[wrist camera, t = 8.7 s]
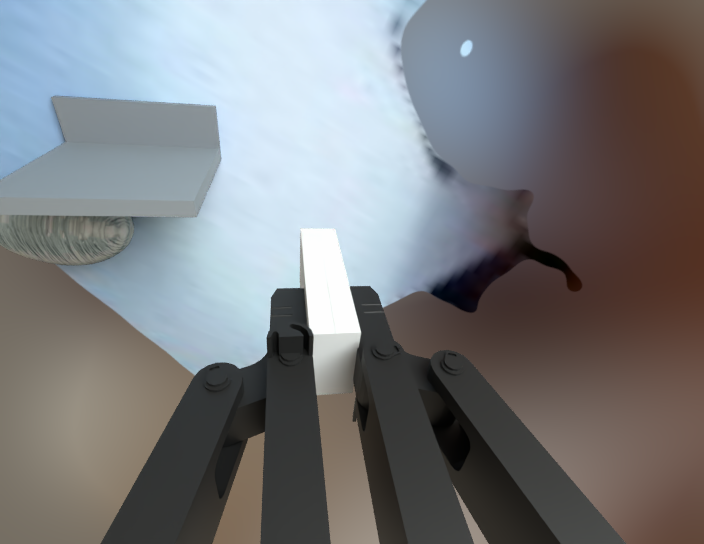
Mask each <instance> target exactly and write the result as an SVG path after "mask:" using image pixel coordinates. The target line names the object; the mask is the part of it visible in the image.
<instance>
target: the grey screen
mask: <svg viewBox="0 0 704 544" xmlns="http://www.w3.org/2000/svg"><path fill="white" fill-rule="evenodd" d="M51 98H52V101H53V104H54V107H55V110H56V113H57V116H58V119H59V123H60V126H61V129H62V132H63V135H64V138H65V141H66V142H65V143H63V144H61V145H60V146H58V147H56V148H54V149H53V150H51V151H49V152H47V153H46V154H44V155H42V156H41V157H39V158H37V159H35V160H34V161H32V162H30V163H28V164H27V165H25V166H23V167H21V168H20V169H18V170H16V171H15V172H13V173H11V174H9V175H8V176H6V177H4V178H2V179H1V180H0V215H50V216H132V217H197V215H198V213H199V210H200V208H201V206H202V203H203V201H204V199H205V196H206V194H207V192H208V189H209V187H210V185H211V182H212V180H213V178H214V175H215V173H216V171H217V168H218V166H219V164H220V161H221V151H220V141H219V132H218V123H217V113H216V106H212V105H196V104H180V103H164V102H148V101H132V100H116V99H100V98H84V97H68V96H53V97H51Z"/></svg>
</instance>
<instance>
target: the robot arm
mask: <svg viewBox="0 0 704 544" xmlns="http://www.w3.org/2000/svg"><path fill="white" fill-rule="evenodd" d="M353 385H354V387H355V392H356V399H355V405H354V412H353V422H354V421H356V418H357V422H358V427H359V433H360V438H361V443H362V449H363V455H364V460H365V465H366V470H367V476H368V481H369V487H370V493H371V498H372V504H373V509H374V515H375V519H376V525H377V530H378V536H379V542H380V544H474V543H473V539H472V537H471V534H470V531H469V528H468V526H467V523H466V520H465V517H464V514H463V512H462V509H461V506H460V503H459V501H458V498H457V495H456V492H455V490H454V487H455V488H456V490H457V492H458V493H459V495H460V496H461V498H462V500H463V502H464V503H465V505H466V507H467V508H468V510H469V512H470V513H471V515H472V517H473V518H474V520H475V522H476V523H477V525H478V527H479V528H480V530H481V532H482V533H483V535H484V537H485V538H486V540H487V542H488V543H489V544H626V543H625V542H624V541H623V539H622V538H621V537H620V536H619V535H618V534H617V532H616V531H615V530H614V529H613V528H612V527H611V525H610V524H609V523H608V522H607V521H606V520H605V518H604V517H603V516H602V515H601V514H600V513H599V511H598V510H597V509H596V508H595V507H594V506H593V504H592V503H591V502H590V501H589V500H588V499H587V497H586V496H585V495H584V494H583V493H582V492H581V490H580V489H579V488H578V487H577V486H576V485H575V483H574V482H573V481H572V480H571V479H570V478H569V477H568V475H567V474H566V473H565V472H564V471H563V469H562V468H561V467H560V466H559V465H558V464H557V462H556V461H555V460H554V459H553V458H552V457H551V455H550V454H549V453H548V452H547V451H546V449H545V448H544V447H543V446H542V445H541V444H540V442H539V441H538V440H537V439H536V438H535V437H534V435H533V434H532V433H531V432H530V431H529V430H528V429H527V427H526V426H525V425H524V424H523V423H522V422H521V420H520V419H519V418H518V417H517V416H516V414H515V413H514V412H513V411H512V410H511V409H510V408H509V406H508V405H507V404H506V403H505V402H504V401H503V399H502V398H501V397H500V396H499V395H498V393H497V392H496V391H495V390H494V389H493V388H492V386H491V385H490V384H489V383H488V382H487V381H486V379H485V378H484V377H483V376H482V375H481V374H480V373H479V371H478V370H477V369H476V368H475V367H474V365H473V364H472V363H471V362H470V361H469V360H468V359H467V358H466V357H464V356H463V355H461V354H459V353H457V352H454V351H449V350H444V351H439V352H437V353H435V354H434V355H433V356H432V358H431V359H427V358H423V357H418V356H414V355H411V354H408V353H406V352H405V351H404V350H403V348H402V347H401V345H400V344H398V343H397V342H396V341H394V339H393V337H392V334H391V331H390V328H389V325H388V322H387V320H386V317H385V314H384V310H383V308H382V305H381V302H380V299H379V296H378V294H377V293H376V292H375V291H374V290H373V289H372V288H371V287H370V286H349V282H348V278H347V274H346V270H345V266H344V262H343V258H342V254H341V250H340V246H339V242H338V238H337V234H336V230H335V229H301V238H300V288H284V289H277V290H276V291H275V293H274V294H273V295H272V297H271V317H270V331H269V332H268V335H267V354H266V355H265V356H264V357H263V358H262V359H261V360H260V361H258V362H257V363H255V364H253V365H250V366H248V367H244V368H241V369H239V368H237V367H236V366H235V365H233V364H229V363H215V364H211V365H208V366H206V367H205V368H203V369H201V370H200V371H199V372H198V373H197V374H196V375H195V377H194V378H193V380H192V381H191V383H190V385H189V387H188V388H187V390H186V392H185V394H184V396H183V397H182V399H181V401H180V403H179V405H178V406H177V408H176V410H175V412H174V414H173V415H172V417H171V419H170V421H169V422H168V424H167V426H166V428H165V430H164V431H163V433H162V435H161V437H160V438H159V440H158V442H157V444H156V446H155V447H154V449H153V451H152V453H151V455H150V457H149V458H148V460H147V462H146V464H145V465H144V467H143V469H142V471H141V472H140V474H139V476H138V478H137V480H136V481H135V483H134V485H133V487H132V489H131V490H130V492H129V494H128V496H127V498H126V499H125V501H124V503H123V505H122V506H121V508H120V510H119V512H118V514H117V515H116V517H115V519H114V521H113V523H112V524H111V526H110V528H109V530H108V532H107V533H106V535H105V537H104V539H103V540H102V542H101V544H212V543H213V540H214V537H215V534H216V531H217V528H218V525H219V522H220V519H221V516H222V513H223V511H224V507H225V505H226V502H227V499H228V496H229V493H230V490H231V487H232V484H233V481H234V479H235V476H236V473H237V470H238V467H239V464H240V461H241V458H242V455H243V452H244V449H245V446H246V444H247V441H248V438H250V437H253V436H255V435H258V434H260V433H263V432H265V442H264V467H263V469H264V470H263V494H262V520H261V544H331V543H330V533H329V522H328V511H327V502H326V490H325V480H324V469H323V458H322V448H321V437H320V426H319V416H318V407H317V406H318V405H317V395H326V394H341V393H352V392H353ZM452 483H453V484H452ZM453 485H454V487H453Z"/></svg>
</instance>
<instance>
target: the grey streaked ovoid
mask: <svg viewBox="0 0 704 544" xmlns="http://www.w3.org/2000/svg"><path fill="white" fill-rule="evenodd" d="M133 232H134V226H133V221H132V218H131V216H50V215H0V245H1V246H2V247H4V248H6V249H7V250H9V251H11V252H13V253H16V254H18V255H21V256H24V257H27V258H30V259H34V260H38V261H43V262H47V263H53V264H60V265H87V264H93V263H97V262H101V261H104V260H107V259H109V258H111V257H113V256H115V255H116V254H118V253H120V252H121V251H122V250H123V249H125V248H126V247H127V246H128V244H129V243H130V241H131V239H132V236H133Z"/></svg>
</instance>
